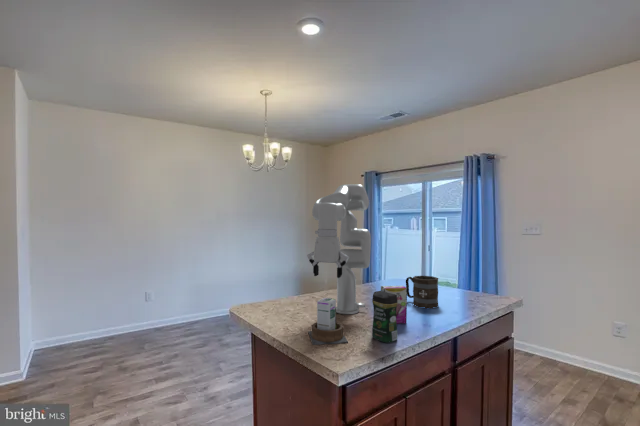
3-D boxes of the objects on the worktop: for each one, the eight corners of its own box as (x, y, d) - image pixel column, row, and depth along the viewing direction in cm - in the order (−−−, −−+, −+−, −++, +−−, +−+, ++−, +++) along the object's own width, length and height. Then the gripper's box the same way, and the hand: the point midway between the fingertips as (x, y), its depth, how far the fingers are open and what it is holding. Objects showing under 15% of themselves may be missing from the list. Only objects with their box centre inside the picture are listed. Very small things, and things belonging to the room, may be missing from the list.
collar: (340, 330, 140) (340, 320, 140) (348, 342, 127) (348, 331, 127) (308, 332, 138) (308, 321, 138) (312, 344, 125) (312, 332, 125)
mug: (443, 305, 181) (443, 278, 181) (429, 310, 172) (429, 281, 172) (413, 298, 196) (413, 273, 196) (398, 302, 188) (398, 275, 188)
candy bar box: (383, 325, 148) (383, 288, 148) (379, 321, 153) (379, 285, 153) (407, 323, 150) (407, 287, 150) (402, 320, 155) (402, 285, 155)
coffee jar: (368, 337, 132) (368, 291, 133) (382, 333, 137) (382, 288, 137) (387, 345, 125) (387, 295, 125) (401, 340, 130) (401, 292, 130)
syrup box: (329, 339, 129) (330, 301, 129) (316, 336, 132) (316, 300, 132) (336, 334, 134) (336, 298, 134) (323, 332, 137) (323, 297, 137)
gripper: (304, 233, 133) (303, 276, 133) (345, 234, 127) (345, 279, 126) (311, 232, 140) (311, 273, 140) (351, 233, 134) (351, 276, 133)
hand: (327, 276), depth 133 cm, fingers open, 9 cm apart
